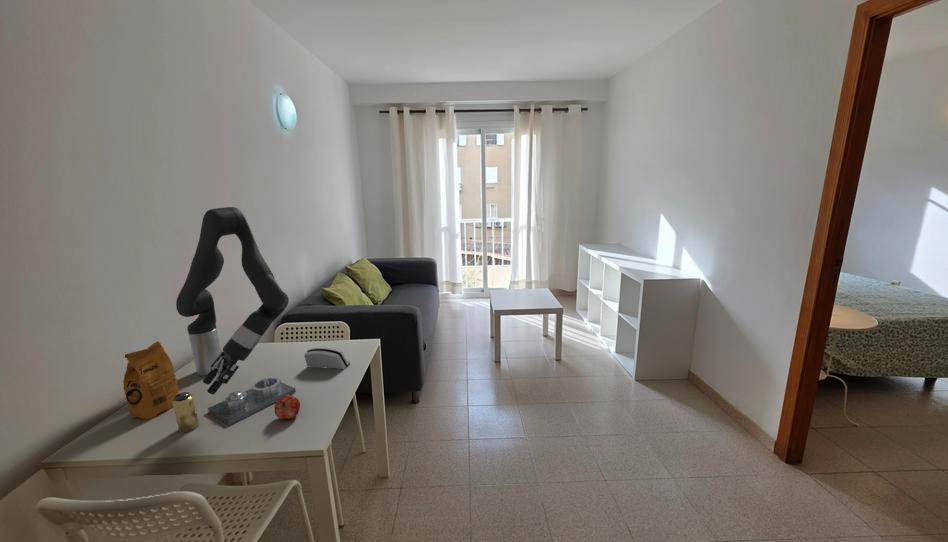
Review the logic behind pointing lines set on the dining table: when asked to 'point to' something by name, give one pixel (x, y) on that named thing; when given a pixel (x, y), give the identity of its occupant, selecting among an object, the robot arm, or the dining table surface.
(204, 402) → the dining table surface
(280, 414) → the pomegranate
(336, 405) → the dining table surface
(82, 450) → the dining table surface
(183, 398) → the gold and black cylinder
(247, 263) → the robot arm
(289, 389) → the fitting plate
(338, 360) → the grey rounded block
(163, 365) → the coffee package
